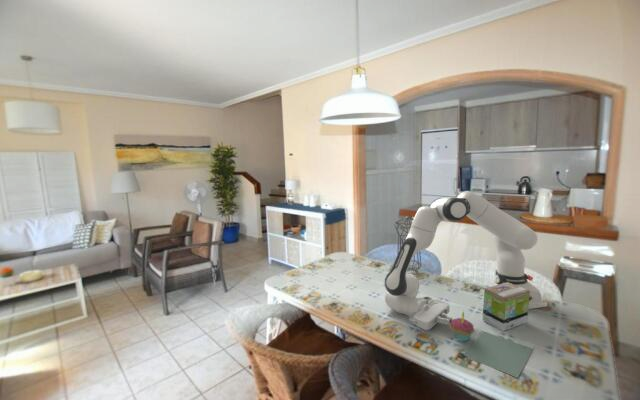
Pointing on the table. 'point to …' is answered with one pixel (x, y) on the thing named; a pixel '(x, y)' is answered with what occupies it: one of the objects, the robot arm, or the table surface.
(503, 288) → the tea box
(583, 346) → the table surface
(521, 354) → the mat
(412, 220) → the geometric lantern
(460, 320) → the cupcake
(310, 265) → the table surface
